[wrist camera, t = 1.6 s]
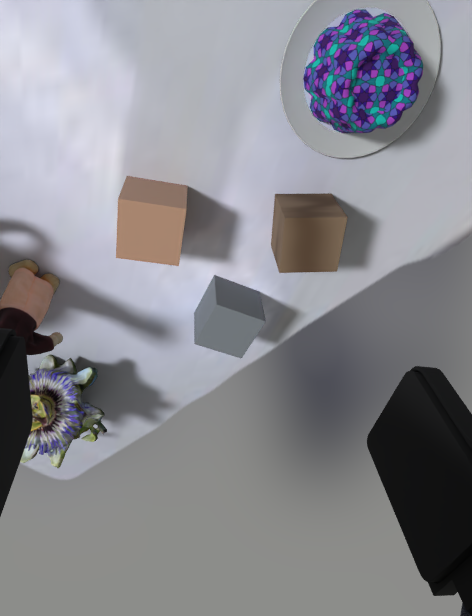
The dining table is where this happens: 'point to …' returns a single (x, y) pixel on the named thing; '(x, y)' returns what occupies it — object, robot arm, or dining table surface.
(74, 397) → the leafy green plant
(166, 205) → the terracotta cube
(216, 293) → the slate grey cube
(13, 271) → the grandmother figurine
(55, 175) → the dining table surface
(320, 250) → the walnut cube
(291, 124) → the purple patterned hat
